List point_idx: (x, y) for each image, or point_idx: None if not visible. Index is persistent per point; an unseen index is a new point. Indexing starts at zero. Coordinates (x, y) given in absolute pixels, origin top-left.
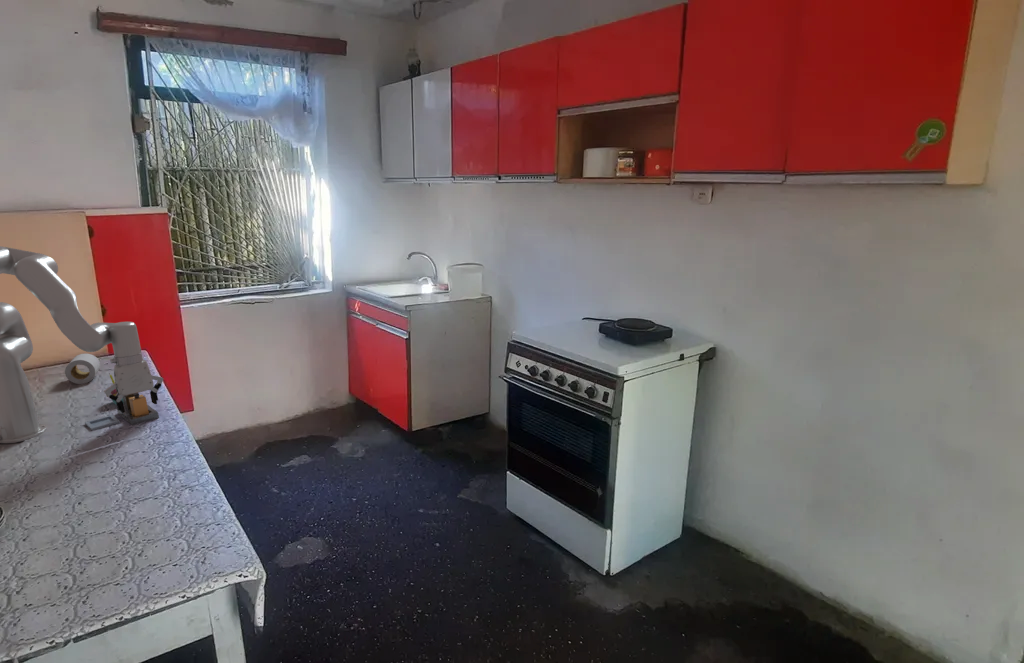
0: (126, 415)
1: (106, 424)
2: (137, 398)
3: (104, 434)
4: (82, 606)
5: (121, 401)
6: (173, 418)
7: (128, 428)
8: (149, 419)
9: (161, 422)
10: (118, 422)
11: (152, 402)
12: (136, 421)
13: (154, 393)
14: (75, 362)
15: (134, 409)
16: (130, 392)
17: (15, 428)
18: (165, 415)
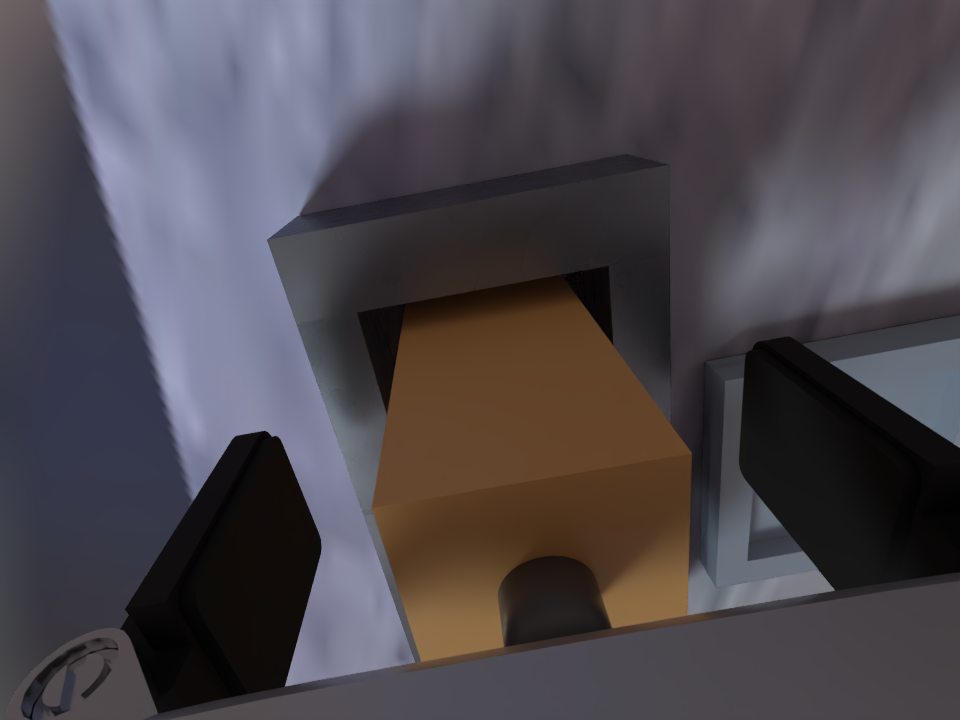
0: (666, 403)
1: (863, 354)
2: (552, 539)
3: (949, 117)
4: None
5: (945, 478)
6: (97, 96)
7: (682, 130)
8: (414, 198)
9: (266, 37)
10: (731, 368)
11: (312, 522)
12: (587, 172)
13: (143, 601)
14: None
15: (608, 346)
16: (941, 655)
17: None
18: (226, 309)
